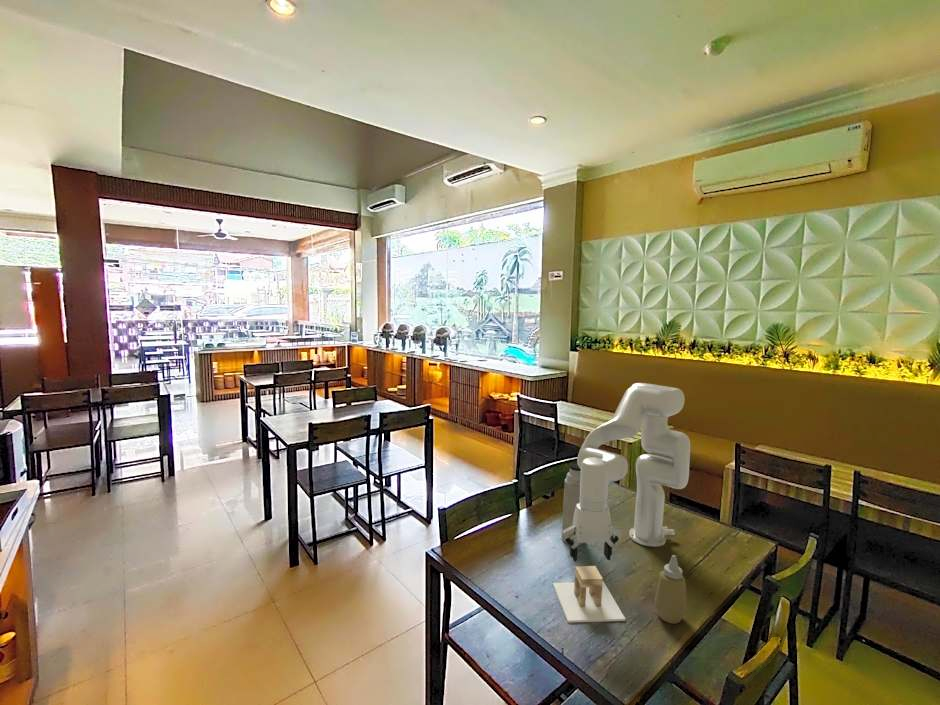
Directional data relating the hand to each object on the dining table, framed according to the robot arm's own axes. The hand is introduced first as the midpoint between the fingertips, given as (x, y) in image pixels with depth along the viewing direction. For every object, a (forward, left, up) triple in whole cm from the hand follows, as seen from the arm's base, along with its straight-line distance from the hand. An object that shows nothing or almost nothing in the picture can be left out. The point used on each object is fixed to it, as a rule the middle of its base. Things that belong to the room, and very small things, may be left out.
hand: (590, 558), depth 128 cm
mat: (+1, +1, -13) cm, 13 cm away
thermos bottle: (-5, -32, -13) cm, 36 cm away
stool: (0, 0, -13) cm, 13 cm away
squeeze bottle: (-20, +8, -14) cm, 26 cm away
